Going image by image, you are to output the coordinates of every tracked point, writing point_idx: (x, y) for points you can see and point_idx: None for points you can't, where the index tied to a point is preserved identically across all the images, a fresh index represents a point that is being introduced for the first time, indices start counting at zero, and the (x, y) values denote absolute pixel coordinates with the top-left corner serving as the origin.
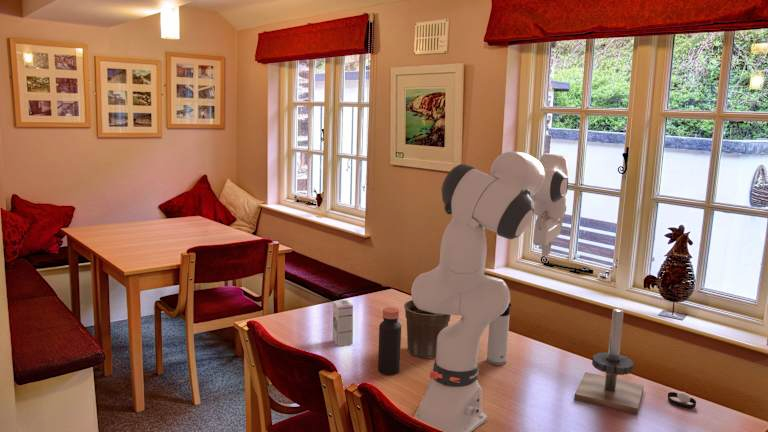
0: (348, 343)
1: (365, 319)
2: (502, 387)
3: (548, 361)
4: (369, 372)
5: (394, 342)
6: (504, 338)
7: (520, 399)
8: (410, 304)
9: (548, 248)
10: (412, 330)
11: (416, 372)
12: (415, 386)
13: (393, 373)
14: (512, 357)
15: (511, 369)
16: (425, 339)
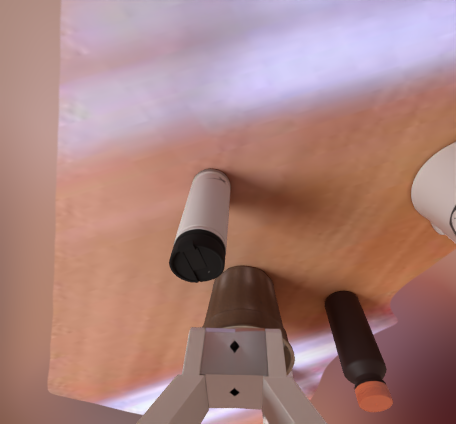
0: None
1: None
2: (324, 140)
3: (139, 91)
4: None
5: (372, 339)
6: (217, 199)
7: (366, 91)
8: None
9: (289, 397)
10: None
11: (327, 273)
12: (379, 257)
13: (354, 295)
14: (171, 165)
15: (230, 150)
16: (277, 307)
